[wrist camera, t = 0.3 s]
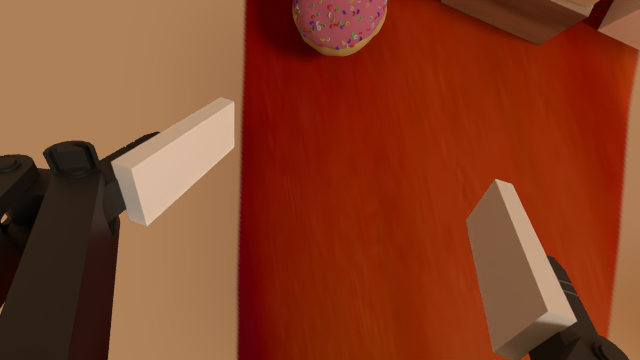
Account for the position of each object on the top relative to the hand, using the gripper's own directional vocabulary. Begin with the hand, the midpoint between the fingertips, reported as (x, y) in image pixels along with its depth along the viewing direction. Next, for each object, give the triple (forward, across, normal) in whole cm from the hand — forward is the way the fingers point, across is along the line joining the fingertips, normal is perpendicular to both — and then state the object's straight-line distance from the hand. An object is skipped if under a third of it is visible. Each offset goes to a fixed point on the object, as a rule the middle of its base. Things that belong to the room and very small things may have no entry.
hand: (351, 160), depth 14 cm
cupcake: (+21, +6, -2) cm, 22 cm away
